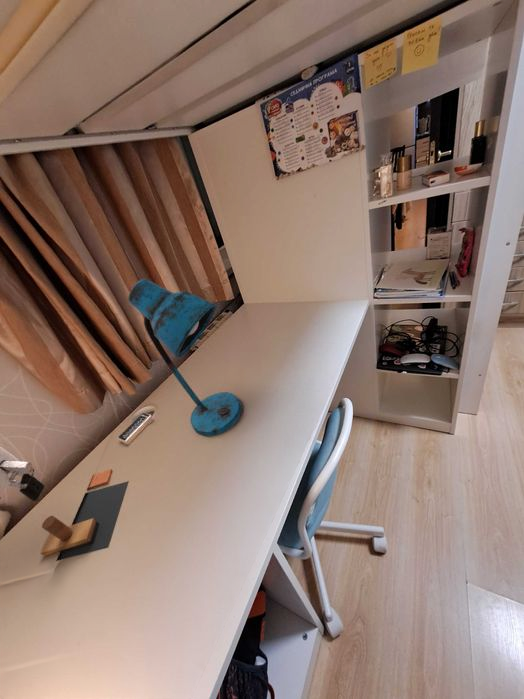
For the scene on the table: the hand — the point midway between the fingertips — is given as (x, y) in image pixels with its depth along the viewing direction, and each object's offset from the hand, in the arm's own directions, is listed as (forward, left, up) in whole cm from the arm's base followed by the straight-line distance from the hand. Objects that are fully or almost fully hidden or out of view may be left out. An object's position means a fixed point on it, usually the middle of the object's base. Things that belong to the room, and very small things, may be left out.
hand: (17, 499), depth 58 cm
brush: (0, 0, -18) cm, 18 cm away
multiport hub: (+8, +31, -19) cm, 37 cm away
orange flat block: (-2, +15, -19) cm, 24 cm away
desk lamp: (+36, +27, -19) cm, 49 cm away
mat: (0, +4, -19) cm, 19 cm away
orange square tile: (+2, +15, -19) cm, 24 cm away
